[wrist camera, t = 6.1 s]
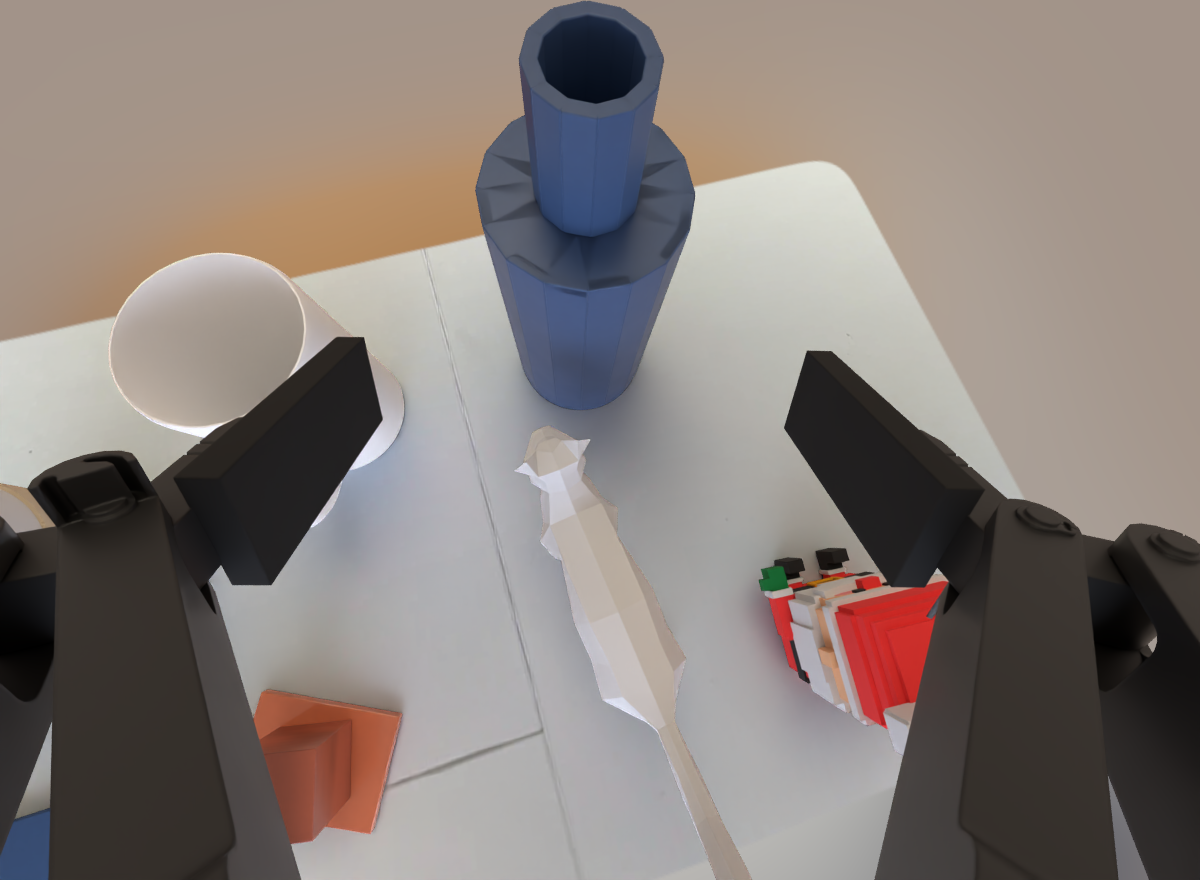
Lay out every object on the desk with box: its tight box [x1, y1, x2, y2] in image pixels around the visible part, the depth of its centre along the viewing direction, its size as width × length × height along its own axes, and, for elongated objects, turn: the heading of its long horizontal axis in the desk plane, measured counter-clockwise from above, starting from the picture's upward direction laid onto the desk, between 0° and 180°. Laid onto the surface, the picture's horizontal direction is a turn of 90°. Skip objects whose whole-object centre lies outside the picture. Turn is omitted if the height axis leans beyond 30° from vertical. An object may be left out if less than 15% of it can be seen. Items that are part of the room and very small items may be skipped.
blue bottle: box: [475, 1, 695, 410], centre depth 23 cm, size 8×8×21 cm
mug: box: [108, 253, 405, 528], centre depth 25 cm, size 8×12×12 cm
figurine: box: [759, 548, 949, 756], centre depth 25 cm, size 8×7×12 cm
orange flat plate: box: [253, 689, 402, 834], centre depth 27 cm, size 8×6×1 cm
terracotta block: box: [260, 719, 352, 844], centre depth 25 cm, size 4×4×4 cm
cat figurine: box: [515, 425, 752, 880], centre depth 23 cm, size 4×20×14 cm, turn 24°
